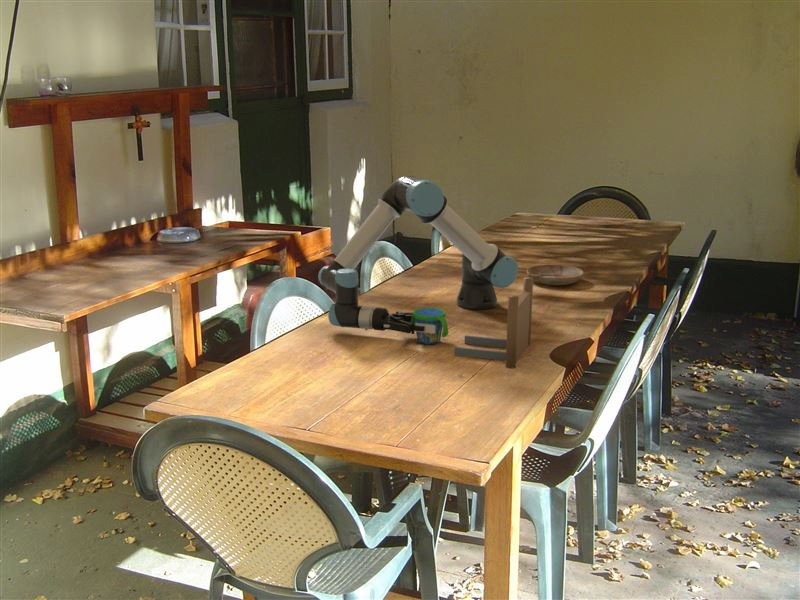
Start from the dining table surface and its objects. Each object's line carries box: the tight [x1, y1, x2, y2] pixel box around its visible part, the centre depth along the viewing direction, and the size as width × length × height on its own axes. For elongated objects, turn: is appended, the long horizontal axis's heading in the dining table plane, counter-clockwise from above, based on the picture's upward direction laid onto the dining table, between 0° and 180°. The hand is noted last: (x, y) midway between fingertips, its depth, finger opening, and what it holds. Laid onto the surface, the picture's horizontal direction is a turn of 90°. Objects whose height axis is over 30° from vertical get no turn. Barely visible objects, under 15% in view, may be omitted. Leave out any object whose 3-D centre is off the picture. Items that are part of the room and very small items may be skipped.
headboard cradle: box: [453, 276, 534, 369], centre depth 293 cm, size 27×20×22 cm
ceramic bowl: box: [525, 264, 585, 286], centre depth 384 cm, size 23×24×5 cm
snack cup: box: [411, 307, 449, 345], centre depth 304 cm, size 16×10×10 cm
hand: (439, 324), depth 303 cm, fingers closed on snack cup, 9 cm apart
